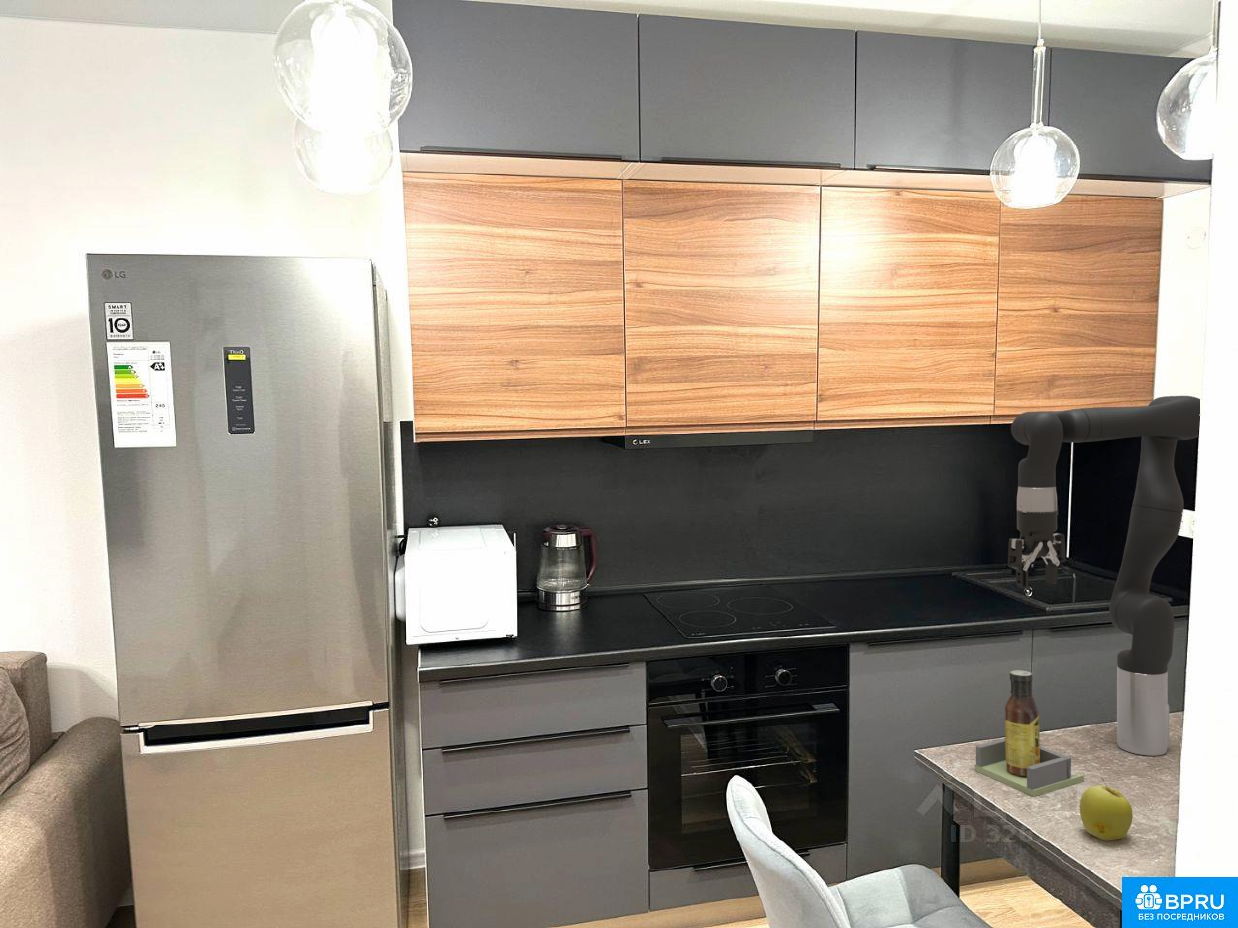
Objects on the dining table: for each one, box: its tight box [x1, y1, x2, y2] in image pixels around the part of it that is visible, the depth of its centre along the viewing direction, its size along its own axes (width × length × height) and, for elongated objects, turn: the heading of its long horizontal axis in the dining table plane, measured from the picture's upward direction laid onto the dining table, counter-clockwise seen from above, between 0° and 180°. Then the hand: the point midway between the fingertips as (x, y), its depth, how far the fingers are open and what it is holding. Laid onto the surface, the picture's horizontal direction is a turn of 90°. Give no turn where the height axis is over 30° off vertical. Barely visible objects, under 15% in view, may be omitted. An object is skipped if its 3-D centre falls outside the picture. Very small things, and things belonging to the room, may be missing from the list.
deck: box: [974, 737, 1085, 797], centre depth 175 cm, size 14×14×5 cm
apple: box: [1079, 777, 1133, 841], centre depth 151 cm, size 8×8×10 cm
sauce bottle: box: [1004, 669, 1041, 777], centre depth 174 cm, size 6×6×20 cm
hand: (1037, 585), depth 183 cm, fingers open, 8 cm apart
